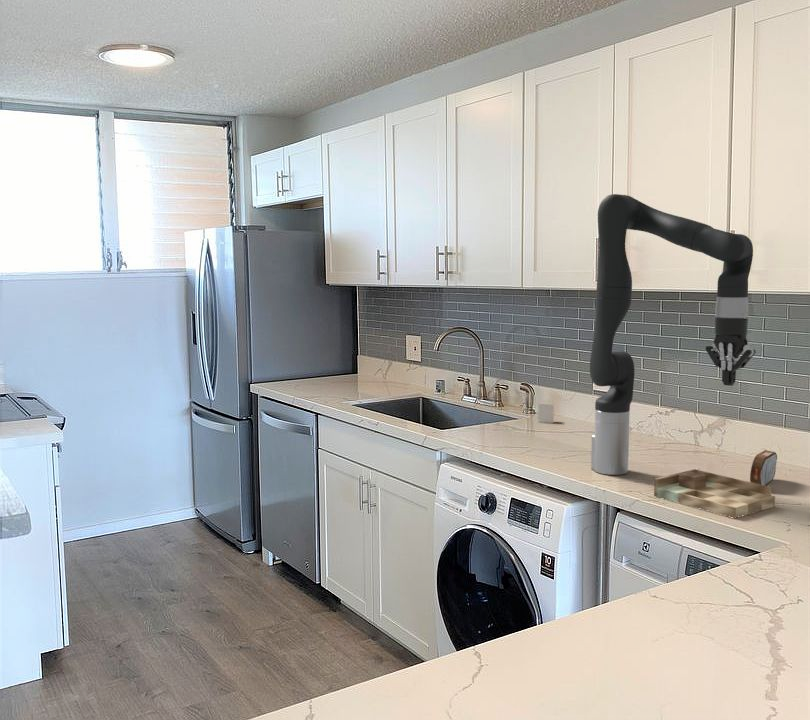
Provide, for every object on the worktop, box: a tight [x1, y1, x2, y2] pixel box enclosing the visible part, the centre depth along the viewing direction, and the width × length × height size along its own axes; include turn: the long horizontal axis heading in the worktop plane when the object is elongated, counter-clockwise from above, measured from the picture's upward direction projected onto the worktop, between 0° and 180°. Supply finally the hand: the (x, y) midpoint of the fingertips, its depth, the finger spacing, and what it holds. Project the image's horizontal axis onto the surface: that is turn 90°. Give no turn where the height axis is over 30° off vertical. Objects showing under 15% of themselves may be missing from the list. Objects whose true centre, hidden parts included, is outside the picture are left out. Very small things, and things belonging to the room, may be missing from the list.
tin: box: [749, 449, 778, 486], centre depth 212 cm, size 15×3×8 cm, turn 141°
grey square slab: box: [537, 403, 559, 424], centre depth 297 cm, size 3×7×7 cm, turn 72°
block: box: [679, 470, 706, 490], centre depth 201 cm, size 4×4×3 cm
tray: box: [653, 468, 776, 519], centre depth 196 cm, size 22×16×4 cm
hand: (728, 385), depth 203 cm, fingers closed
